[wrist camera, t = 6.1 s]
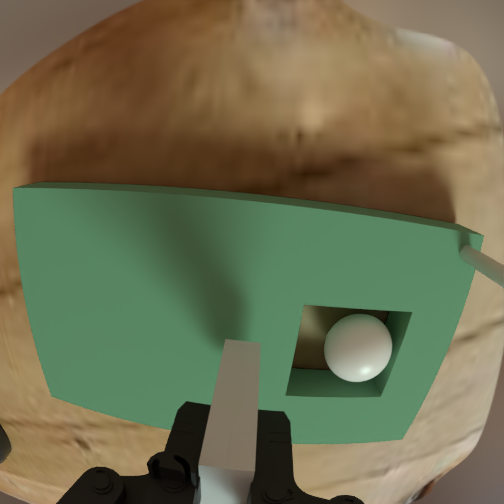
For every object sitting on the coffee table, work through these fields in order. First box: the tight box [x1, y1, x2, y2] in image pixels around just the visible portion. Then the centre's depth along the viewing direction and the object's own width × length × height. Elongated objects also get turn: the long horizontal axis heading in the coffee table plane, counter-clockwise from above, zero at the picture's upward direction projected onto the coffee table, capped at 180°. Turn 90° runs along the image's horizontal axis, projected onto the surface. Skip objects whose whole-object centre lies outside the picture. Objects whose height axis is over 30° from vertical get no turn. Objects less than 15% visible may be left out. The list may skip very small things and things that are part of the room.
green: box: [13, 182, 484, 444], centre depth 16 cm, size 24×14×2 cm, turn 84°
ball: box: [324, 314, 392, 382], centre depth 15 cm, size 4×4×4 cm
